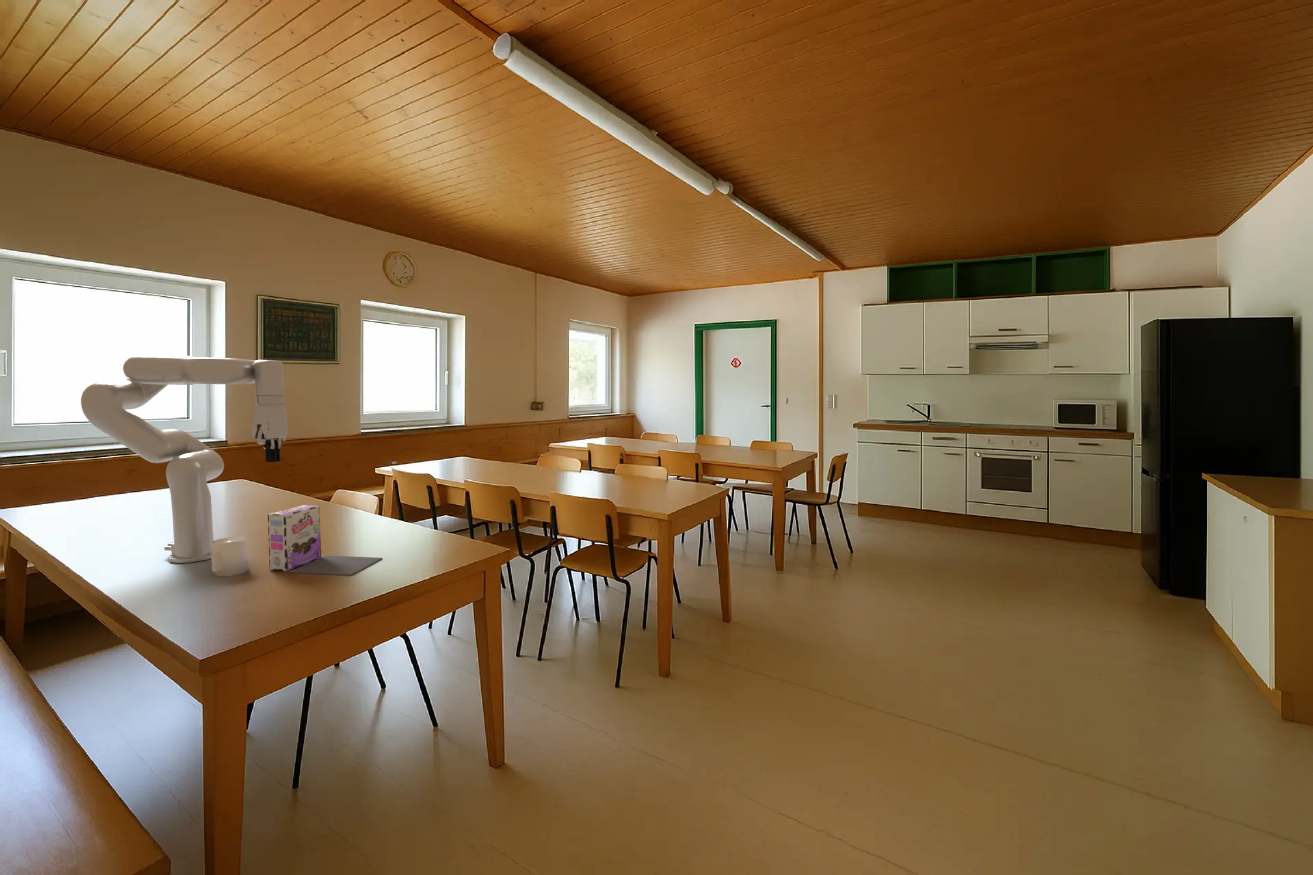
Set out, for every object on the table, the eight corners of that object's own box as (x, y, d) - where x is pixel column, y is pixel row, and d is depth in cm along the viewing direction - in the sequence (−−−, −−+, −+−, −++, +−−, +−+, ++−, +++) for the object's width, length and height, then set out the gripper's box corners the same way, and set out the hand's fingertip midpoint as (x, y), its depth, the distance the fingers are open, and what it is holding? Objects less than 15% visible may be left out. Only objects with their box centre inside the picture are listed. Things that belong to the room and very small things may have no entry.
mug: (200, 577, 167) (198, 545, 166) (229, 566, 176) (227, 536, 176) (227, 579, 166) (226, 546, 165) (255, 568, 176) (253, 537, 175)
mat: (290, 573, 172) (290, 571, 172) (326, 556, 188) (326, 555, 187) (351, 575, 170) (351, 574, 170) (382, 559, 186) (382, 557, 186)
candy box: (286, 572, 173) (284, 514, 171) (268, 570, 174) (266, 513, 172) (322, 558, 186) (320, 505, 185) (305, 556, 187) (303, 504, 186)
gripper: (276, 400, 192) (279, 458, 194) (239, 402, 177) (242, 464, 179) (298, 400, 192) (301, 458, 193) (263, 402, 177) (266, 465, 178)
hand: (273, 461), depth 186 cm, fingers closed
